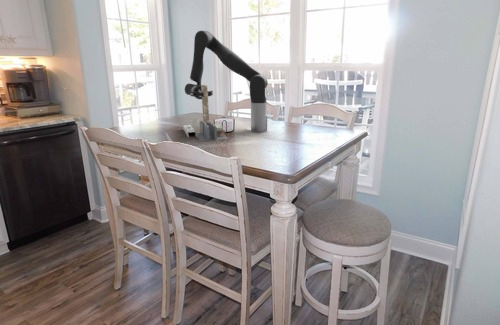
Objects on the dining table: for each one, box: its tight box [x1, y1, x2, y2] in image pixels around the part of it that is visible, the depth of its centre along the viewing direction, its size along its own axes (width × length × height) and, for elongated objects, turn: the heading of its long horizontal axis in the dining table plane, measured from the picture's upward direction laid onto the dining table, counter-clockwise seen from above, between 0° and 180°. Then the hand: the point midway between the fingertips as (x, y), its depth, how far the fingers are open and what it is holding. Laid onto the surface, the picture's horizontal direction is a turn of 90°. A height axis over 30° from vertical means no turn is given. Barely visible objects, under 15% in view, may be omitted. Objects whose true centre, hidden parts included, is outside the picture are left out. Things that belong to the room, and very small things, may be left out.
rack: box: [196, 120, 230, 142], centre depth 180 cm, size 15×21×8 cm
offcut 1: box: [214, 123, 224, 131], centre depth 184 cm, size 5×10×2 cm, turn 18°
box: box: [182, 124, 198, 138], centre depth 186 cm, size 4×4×28 cm
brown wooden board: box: [201, 84, 210, 124], centre depth 179 cm, size 2×6×20 cm, turn 21°
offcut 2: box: [217, 129, 226, 134], centre depth 184 cm, size 5×10×2 cm, turn 25°
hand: (205, 94), depth 176 cm, fingers closed on brown wooden board, 1 cm apart
